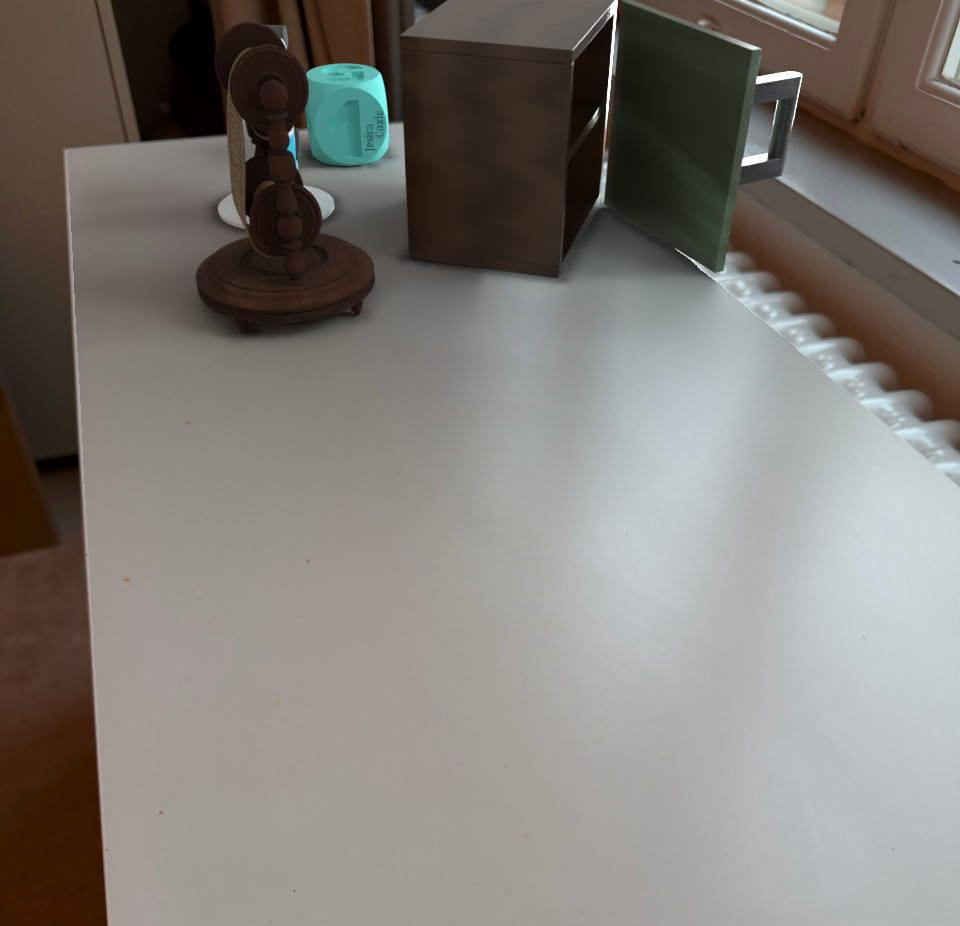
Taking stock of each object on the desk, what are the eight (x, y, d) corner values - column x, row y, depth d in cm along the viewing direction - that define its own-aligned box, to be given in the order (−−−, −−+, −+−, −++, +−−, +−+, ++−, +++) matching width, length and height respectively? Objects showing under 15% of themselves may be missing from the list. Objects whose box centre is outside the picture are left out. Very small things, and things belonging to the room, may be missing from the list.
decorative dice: (316, 169, 110) (308, 87, 104) (308, 144, 116) (300, 65, 110) (390, 163, 111) (386, 82, 106) (379, 139, 117) (374, 61, 111)
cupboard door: (667, 191, 106) (692, -9, 94) (783, 256, 94) (829, 38, 82) (603, 204, 103) (621, 0, 91) (714, 273, 92) (752, 50, 79)
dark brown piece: (189, 275, 91) (139, 16, 77) (352, 253, 94) (332, 2, 81) (215, 352, 81) (163, 70, 67) (397, 324, 84) (382, 51, 71)
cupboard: (600, 204, 103) (617, -3, 91) (558, 278, 91) (572, 50, 78) (466, 188, 106) (466, -15, 94) (408, 258, 94) (399, 35, 81)
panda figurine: (324, 235, 97) (306, 58, 87) (205, 232, 98) (173, 56, 87) (341, 188, 106) (328, 22, 96) (232, 185, 106) (206, 20, 96)
